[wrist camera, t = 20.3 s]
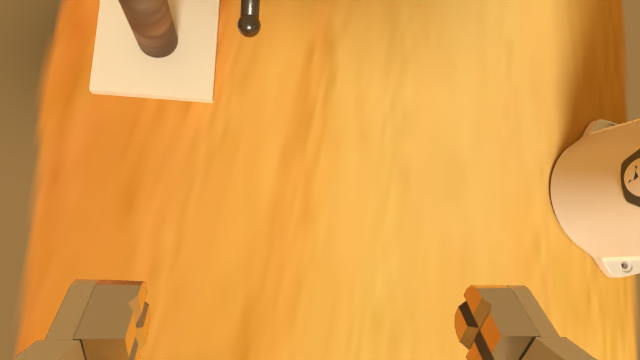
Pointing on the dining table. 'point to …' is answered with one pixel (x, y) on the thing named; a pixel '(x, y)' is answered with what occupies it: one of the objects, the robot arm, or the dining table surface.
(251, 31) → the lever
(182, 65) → the plate
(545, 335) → the robot arm
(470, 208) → the dining table surface
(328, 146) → the dining table surface
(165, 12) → the walnut peg
